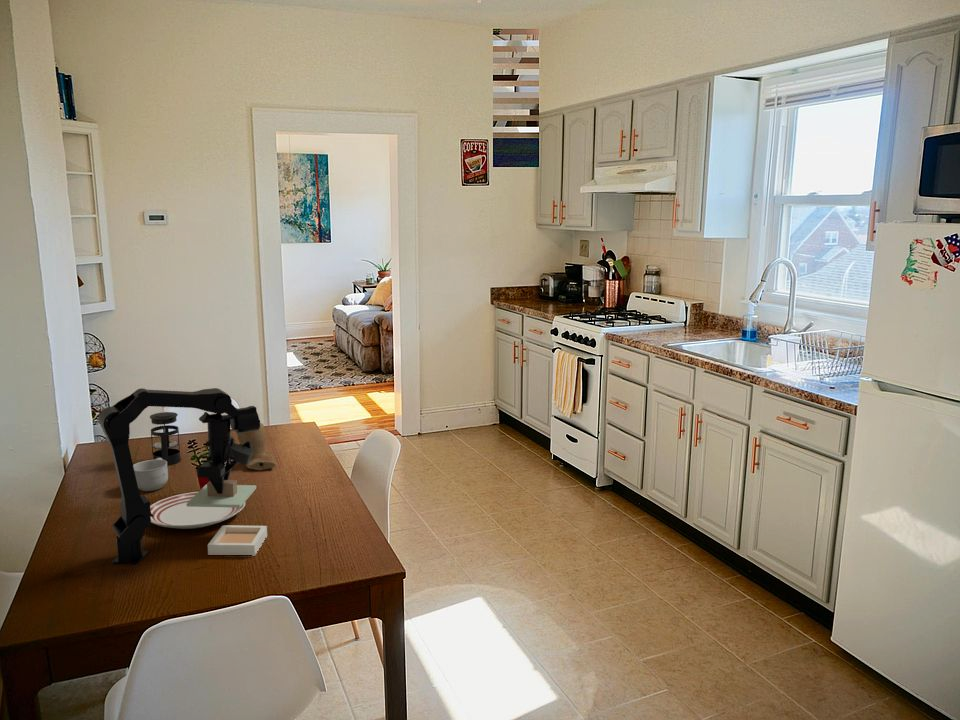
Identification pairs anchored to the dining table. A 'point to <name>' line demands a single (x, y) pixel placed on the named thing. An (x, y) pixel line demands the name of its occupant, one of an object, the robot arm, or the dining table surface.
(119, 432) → the robot arm
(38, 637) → the dining table surface
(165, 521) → the dinner plate
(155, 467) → the teacup
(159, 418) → the french press
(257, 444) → the beige boot
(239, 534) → the dish
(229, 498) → the cover
